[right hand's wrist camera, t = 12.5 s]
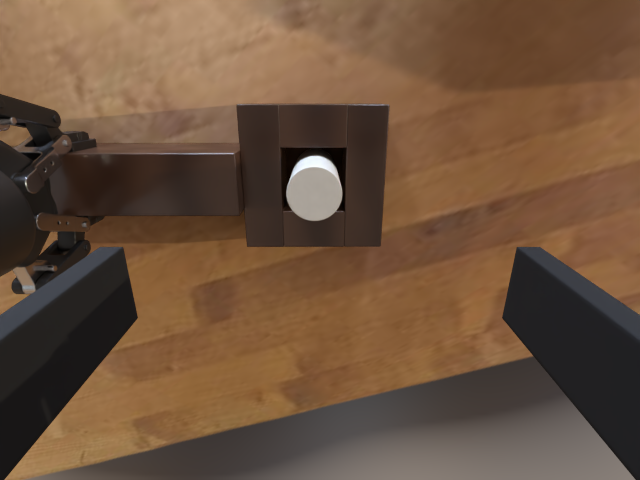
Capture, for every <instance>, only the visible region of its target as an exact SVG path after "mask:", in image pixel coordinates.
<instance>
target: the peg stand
mask: <svg viewBox="0 0 640 480" xmlns="http://www.w3.org/2000/svg"><path fill="white" fill-rule="evenodd" d="M237 118H238V131H239V143H96V144H97V147H94V148H89V149H84V150H80V151H75V152H68V153H67V154H66V155H65V156H64V157H63V158H62V159H60V160H61V161H62V165H61V166H60V167H59V168H58V169H57V170H56V171H55V172H54V173H53V174H52V175H51V176H50V177H49V180H50V186H51V195H52V197H53V199H54V201H55V203H56V206H57V210H58V214H60V215H71V216H239V215H240V214H241V213H242V211H243V210H244V211H245V224H246V238H247V247H343V246H381V232H382V216H383V201H384V185H385V169H386V153H387V138H388V122H389V105H388V104H237ZM286 148H343V158H342V200H341V203H340V205H339V207H338V209H337V210H336V211H335V213H334V214H332V215H331V216H330V217H328V218H326V219H323V220H319V221H310V220H306V219H303V218H301V217H299V216H298V215H296V214H295V213H294V212H293V211H292V209H291V208H290V206H289V204H288V201H287V196H286V191H287V178H286Z"/></svg>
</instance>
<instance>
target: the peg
mask: <svg viewBox="0 0 640 480" xmlns="http://www.w3.org/2000/svg"><path fill="white" fill-rule="evenodd" d="M286 196H287V201H288V204H289V206H290V208H291V209H292V211H293V212H294V213H295V214H296V215H298V216H299V217H301V218H303V219H306V220H310V221H319V220H323V219H326V218H328V217H330V216H331V215H332V214H334V213H335V211H336V210H337V209H338V207H339V205H340V203H341V200H342V187H341V183H340V180H339V176H338V172H337V168H336V164H335V161H334V159H333V158H332V156H331V155H330V154H329V153H328V152H326V151H324V150H322V149H316V148H315V149H309V150H306V151H305V152H303V153H302V154H301V155H300V156H299V157H298V159H297V161H296V163H295V166H294V169H293V172H292V174H291V177H290V180H289V183H288V186H287V191H286Z"/></svg>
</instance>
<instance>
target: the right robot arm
mask: <svg viewBox="0 0 640 480" xmlns="http://www.w3.org/2000/svg"><path fill="white" fill-rule="evenodd" d="M137 318H138V317H137V312H136V307H135V302H134V298H133V293H132V288H131V283H130V278H129V273H128V269H127V264H126V259H125V254H124V249H123V247H100V248H98V249H97V250H95V251H94V252H92V253H91V254H89V255H88V256H86V257H85V258H83V259H82V260H80V261H79V262H77V263H76V264H75V265H73V266H72V267H70V268H69V269H67V270H66V271H64V272H63V273H61V274H60V275H58V276H57V277H55V278H54V279H53V280H51V281H50V282H48V283H47V284H45V285H44V286H42V287H41V288H39V289H38V290H36V291H35V292H33V293H32V294H30V295H29V296H28V297H26V298H25V299H23V300H22V301H20V302H19V303H17V304H16V305H14V306H13V307H11V308H10V309H8V310H7V311H6V312H4V313H3V314H1V315H0V480H4V479H5V478H6V477H7V476H8V475H9V473H10V472H11V471H12V470H13V468H14V467H15V466H16V465H17V464H18V462H19V461H20V460H21V459H22V458H23V456H24V455H25V454H26V453H27V451H28V450H29V449H30V448H31V447H32V445H33V444H34V443H35V442H36V441H37V439H38V438H39V437H40V436H41V435H42V433H43V432H44V431H45V430H46V428H47V427H48V426H49V425H50V424H51V422H52V421H53V420H54V419H55V418H56V416H57V415H58V414H59V413H60V412H61V410H62V409H63V408H64V407H65V405H66V404H67V403H68V402H69V401H70V399H71V398H72V397H73V396H74V395H75V393H76V392H77V391H78V390H79V389H80V387H81V386H82V385H83V384H84V382H85V381H86V380H87V379H88V378H89V376H90V375H91V374H92V373H93V372H94V370H95V369H96V368H97V367H98V366H99V364H100V363H101V362H102V361H103V359H104V358H105V357H106V356H107V355H108V353H109V352H110V351H111V350H112V349H113V347H114V346H115V345H116V344H117V343H118V341H119V340H120V339H121V338H122V336H123V335H124V334H125V333H126V332H127V330H128V329H129V328H130V327H131V326H132V324H133V323H134V322H135V321H136V320H137ZM502 318H503V320H504V321H505V322H506V323H507V324H508V326H509V327H510V328H511V329H512V330H513V332H514V333H515V334H516V335H517V336H518V338H519V339H520V340H521V341H522V343H523V344H524V345H525V346H526V347H527V349H528V350H529V351H530V352H531V353H532V355H533V356H534V357H535V358H536V359H537V361H538V362H539V363H540V364H541V366H542V367H543V368H544V369H545V370H546V372H547V373H548V374H549V375H550V376H551V378H552V379H553V380H554V381H555V382H556V384H557V385H558V386H559V387H560V389H561V390H562V391H563V392H564V393H565V395H566V396H567V397H568V398H569V399H570V401H571V402H572V403H573V404H574V405H575V407H576V408H577V409H578V410H579V412H580V413H581V414H582V415H583V416H584V418H585V419H586V420H587V421H588V422H589V424H590V425H591V426H592V427H593V428H594V430H595V431H596V432H597V433H598V434H599V436H600V437H601V438H602V439H603V441H604V442H605V443H606V444H607V445H608V447H609V448H610V449H611V450H612V451H613V453H614V454H615V455H616V456H617V458H618V459H619V460H620V461H621V462H622V464H623V465H624V466H625V467H626V468H627V470H628V471H629V472H630V473H631V474H632V476H633V477H634V478H635V479H636V480H640V315H639V314H637V313H636V312H634V311H633V310H632V309H630V308H629V307H627V306H626V305H624V304H623V303H621V302H620V301H618V300H617V299H615V298H614V297H612V296H611V295H610V294H608V293H607V292H605V291H604V290H602V289H601V288H599V287H598V286H596V285H595V284H593V283H592V282H590V281H589V280H587V279H586V278H585V277H583V276H582V275H580V274H579V273H577V272H576V271H574V270H573V269H571V268H570V267H568V266H567V265H565V264H564V263H563V262H561V261H560V260H558V259H557V258H555V257H554V256H552V255H551V254H549V253H548V252H546V251H545V250H543V249H542V248H540V247H517V249H516V254H515V259H514V264H513V269H512V273H511V278H510V283H509V288H508V293H507V298H506V302H505V307H504V312H503V317H502Z"/></svg>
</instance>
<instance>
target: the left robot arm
mask: <svg viewBox="0 0 640 480" xmlns="http://www.w3.org/2000/svg"><path fill="white" fill-rule="evenodd" d="M60 124H61V119H60V116H59V114H58V113H57V112H56V111H54V110H51V109H48V108H44V107H41V106H38V105H35V104H31V103H28V102H25V101H21V100H18V99H15V98H12V97H8V96H5V95H2V94H0V131H5V130H8V129H9V127H10V125H14V126H19V127H24V128H27V129H28V131H29V133H30V135H31V136H30V137H29V138H27V139H26V140H25V141H24V142H22V143H21V144H20V145H18V146H16V147H11V146H9V145H7V144H6V143H4V142H3V141H1V140H0V276H2V275H4V274H6V273H8V272H9V271H11V270H13V271H14V273H15V275H16V276H17V277H16V278H15V279H14V281H13V282H12V291H13V292H14V293H16V294H32V293H33V292H35V291H36V290H38V289H39V288H41V287H42V286H44V285H45V284H47V283H48V282H50V281H51V280H53V279H54V278H55V277H57V276H58V275H60V274H61V273H63V272H64V271H66V270H67V269H69V268H70V267H72V266H73V265H75V264H76V263H77V262H79V261H80V260H82V259H83V258H85V257H86V256H87V255H88V254H89V252H90V249H91V245H90V242H89V241H88V240H84V234H85V232H87V231H89V229H90V226H91V225H93V224H95V223H96V222H98V221H100V220H102V219H103V218H104V217H105V216H71V215H60V214H58V210H57V206H56V203H55V201H54V199H53V197H52V195H51V186H50V180H49V177H50V176H51V175H52V174H53V173H54V172H55V171H56V170H57V169H58V168H59V167H60V166H61V165H62V161H61V160H60V159H62V158H63V157H64V156H65V155H66V154H67V153H68V152H75V151H80V150H84V149H89V148H94V147H97V144H96V140H95V139H89V136H88V133H86V132H84V131H66V132H61V131H60V130H59V128H58V127H59V126H60ZM50 232H58V240H56V241H54V242H53V243H52V244H51V245H50V246H49V247H48V248H47V249H46V250H45V251H44V252H43V253H42V254H41V255H39V254H40V252H41V250H42V248H43V246H44V244H45V242H46V240H47V238H48V236H49V233H50ZM64 254H65V255H64Z"/></svg>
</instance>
